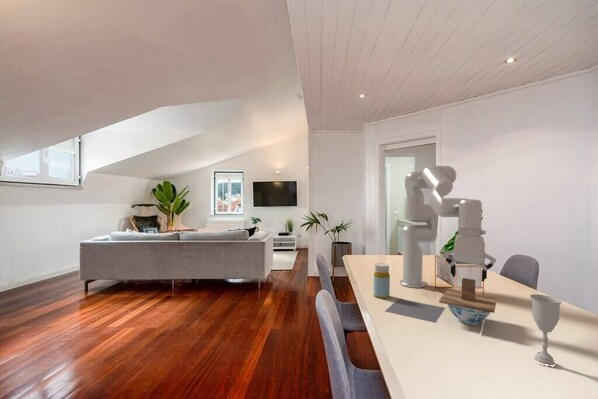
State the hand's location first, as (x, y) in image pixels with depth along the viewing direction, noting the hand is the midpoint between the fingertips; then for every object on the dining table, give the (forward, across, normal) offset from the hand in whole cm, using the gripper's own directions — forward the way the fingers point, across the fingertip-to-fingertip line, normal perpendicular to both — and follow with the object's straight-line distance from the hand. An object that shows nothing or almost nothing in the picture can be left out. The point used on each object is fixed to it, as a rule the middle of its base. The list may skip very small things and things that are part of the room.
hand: (468, 278), depth 116 cm
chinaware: (+16, 0, +1) cm, 16 cm away
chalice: (+16, -22, +21) cm, 34 cm away
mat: (+16, +18, +1) cm, 25 cm away
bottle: (+17, +36, -7) cm, 40 cm away
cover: (+8, 0, 0) cm, 8 cm away
